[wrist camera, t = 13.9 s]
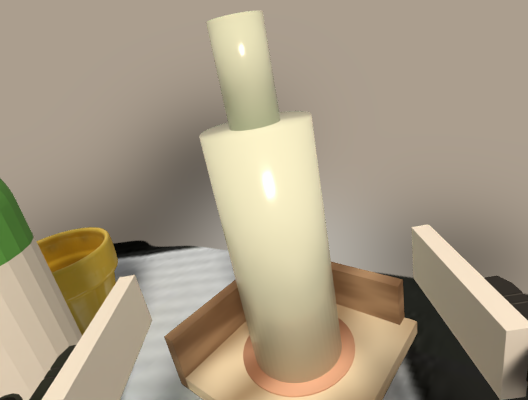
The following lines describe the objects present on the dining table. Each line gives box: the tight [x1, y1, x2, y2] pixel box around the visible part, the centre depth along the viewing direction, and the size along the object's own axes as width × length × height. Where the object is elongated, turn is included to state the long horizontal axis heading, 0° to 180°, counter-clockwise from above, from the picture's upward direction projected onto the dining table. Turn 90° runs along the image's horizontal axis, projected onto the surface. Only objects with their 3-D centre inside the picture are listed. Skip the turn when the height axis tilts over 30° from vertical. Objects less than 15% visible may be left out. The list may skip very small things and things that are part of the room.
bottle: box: [199, 11, 342, 383], centre depth 24 cm, size 7×7×24 cm
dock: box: [164, 262, 417, 400], centre depth 28 cm, size 14×14×5 cm
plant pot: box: [36, 227, 118, 335], centre depth 36 cm, size 10×10×10 cm
